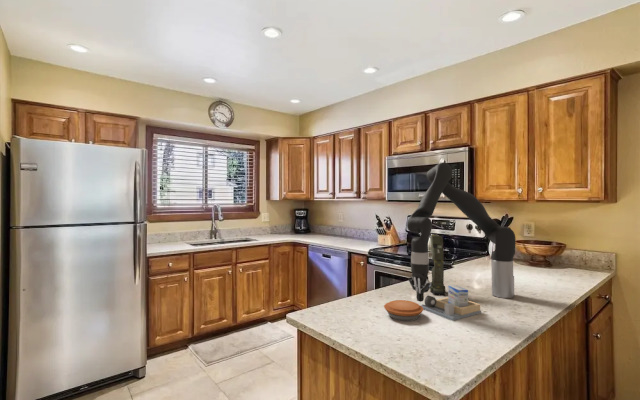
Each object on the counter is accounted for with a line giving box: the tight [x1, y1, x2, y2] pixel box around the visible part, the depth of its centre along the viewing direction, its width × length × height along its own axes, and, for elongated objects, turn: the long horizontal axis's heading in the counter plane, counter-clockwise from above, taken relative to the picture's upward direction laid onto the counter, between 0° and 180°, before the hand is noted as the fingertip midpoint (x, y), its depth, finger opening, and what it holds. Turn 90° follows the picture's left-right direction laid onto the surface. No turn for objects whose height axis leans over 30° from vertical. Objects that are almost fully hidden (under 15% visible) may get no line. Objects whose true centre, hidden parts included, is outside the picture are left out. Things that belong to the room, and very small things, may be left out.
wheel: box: [423, 295, 437, 307], centre depth 140 cm, size 4×3×4 cm, turn 118°
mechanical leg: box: [429, 234, 446, 297], centre depth 166 cm, size 14×7×30 cm, turn 168°
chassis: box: [420, 296, 482, 322], centre depth 138 cm, size 17×17×5 cm
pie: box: [383, 299, 424, 322], centre depth 133 cm, size 16×16×5 cm
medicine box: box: [447, 284, 469, 308], centre depth 138 cm, size 8×4×9 cm, turn 10°
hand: (420, 301), depth 145 cm, fingers closed
